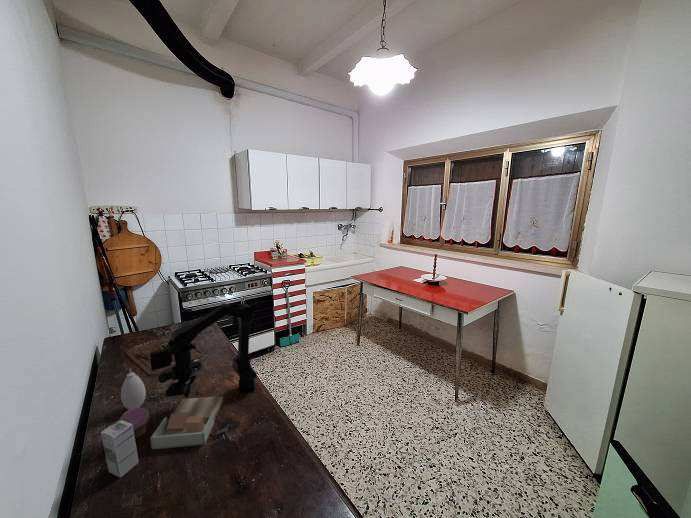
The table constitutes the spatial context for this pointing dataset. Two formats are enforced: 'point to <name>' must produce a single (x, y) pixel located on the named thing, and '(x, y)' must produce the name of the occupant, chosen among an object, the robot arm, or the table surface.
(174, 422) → the tile
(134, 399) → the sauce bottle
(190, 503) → the table surface
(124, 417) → the cupcake
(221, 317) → the robot arm
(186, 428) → the tile
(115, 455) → the syrup box
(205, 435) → the tray
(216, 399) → the beige flat panel
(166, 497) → the table surface
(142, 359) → the chopping board
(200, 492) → the table surface
